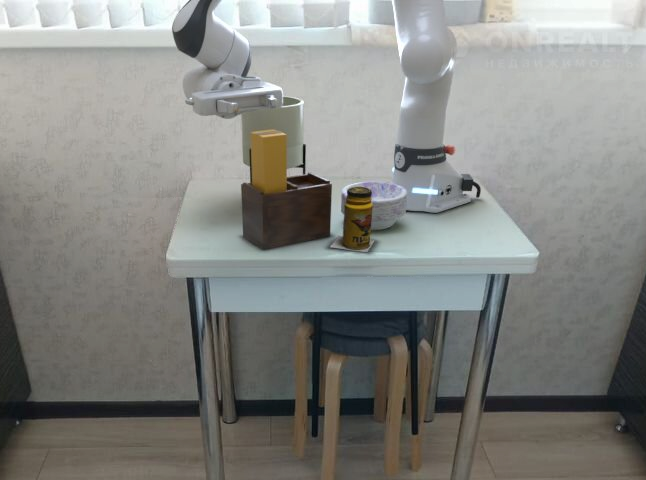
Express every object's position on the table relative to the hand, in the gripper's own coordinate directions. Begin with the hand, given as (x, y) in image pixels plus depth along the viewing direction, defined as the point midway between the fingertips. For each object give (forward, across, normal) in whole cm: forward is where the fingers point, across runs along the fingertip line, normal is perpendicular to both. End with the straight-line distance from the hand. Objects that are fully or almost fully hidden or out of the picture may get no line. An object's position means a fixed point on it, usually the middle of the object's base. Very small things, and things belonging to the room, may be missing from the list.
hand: (254, 106), depth 145 cm
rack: (+6, +4, +26) cm, 27 cm away
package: (+6, 0, +16) cm, 17 cm away
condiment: (+18, +14, +27) cm, 35 cm away
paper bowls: (+9, +26, +27) cm, 38 cm away
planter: (-20, +16, +26) cm, 37 cm away
